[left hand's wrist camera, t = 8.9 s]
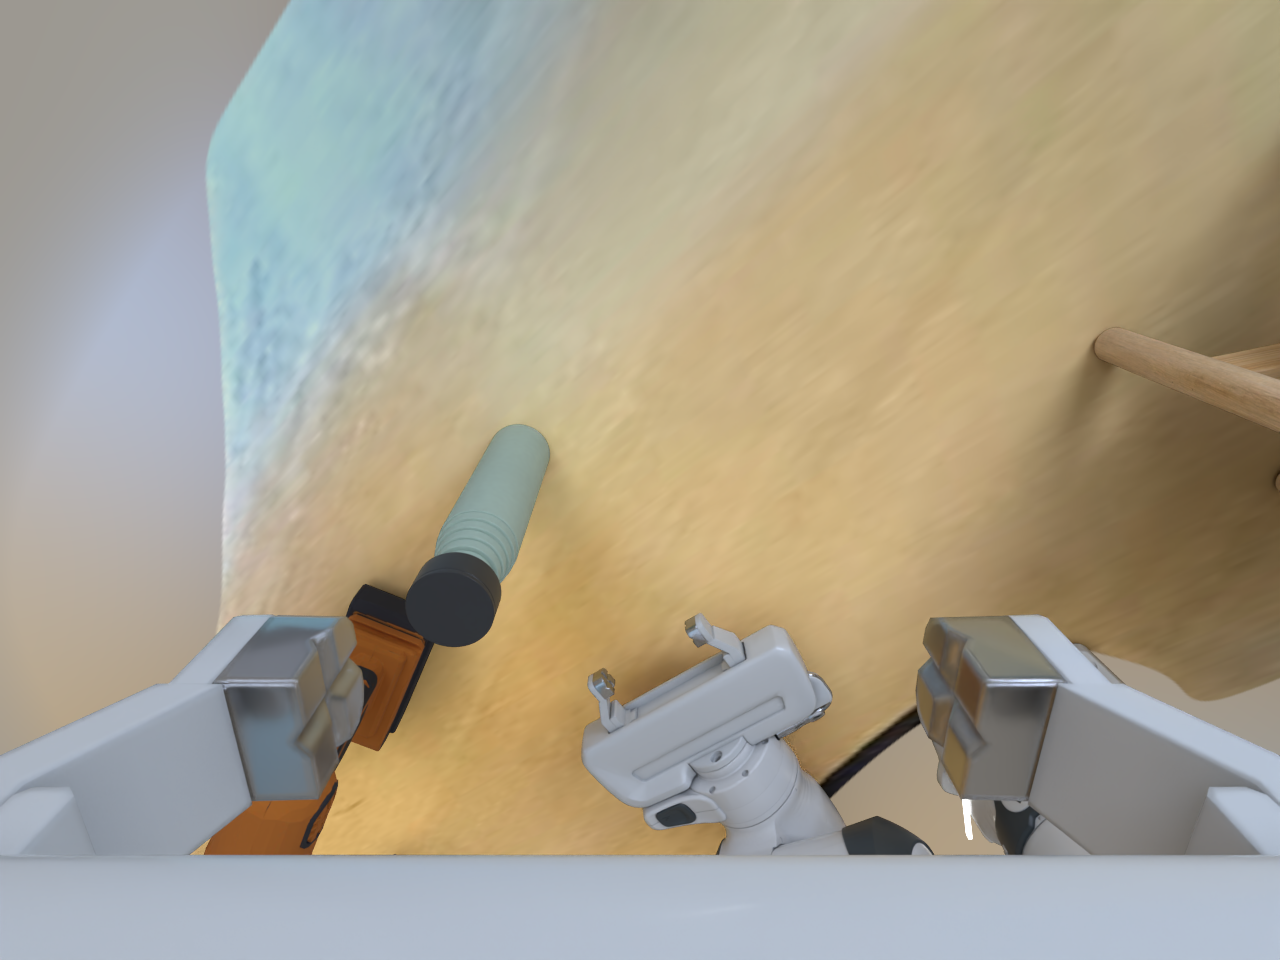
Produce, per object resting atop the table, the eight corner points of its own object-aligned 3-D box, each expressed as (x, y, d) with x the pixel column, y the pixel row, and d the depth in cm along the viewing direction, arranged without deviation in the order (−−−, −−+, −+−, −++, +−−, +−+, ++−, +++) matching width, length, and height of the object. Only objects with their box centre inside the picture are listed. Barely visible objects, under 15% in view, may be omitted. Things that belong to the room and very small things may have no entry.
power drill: (381, 766, 69) (249, 1062, 46) (305, 741, 68) (131, 1031, 45) (456, 590, 62) (344, 840, 39) (372, 558, 60) (205, 795, 37)
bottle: (516, 491, 58) (448, 659, 38) (477, 446, 57) (385, 597, 37) (562, 458, 57) (516, 614, 37) (523, 412, 56) (454, 548, 35)
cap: (456, 637, 40) (446, 661, 38) (399, 580, 38) (386, 602, 36) (518, 596, 38) (512, 618, 37) (462, 536, 37) (452, 555, 35)
